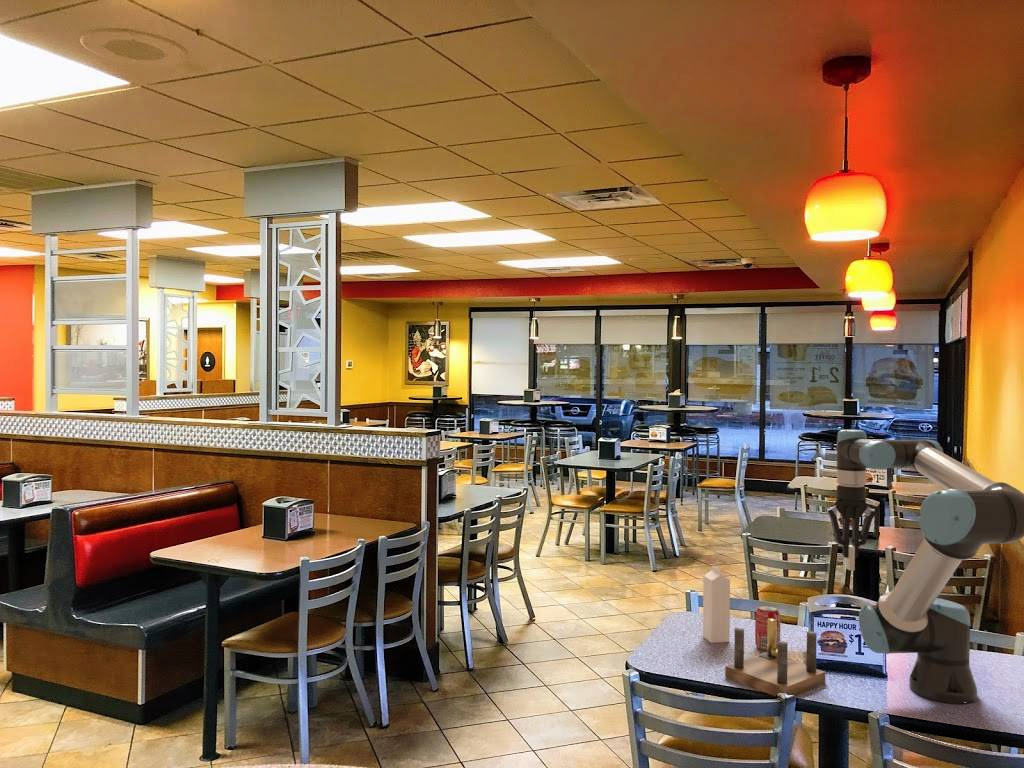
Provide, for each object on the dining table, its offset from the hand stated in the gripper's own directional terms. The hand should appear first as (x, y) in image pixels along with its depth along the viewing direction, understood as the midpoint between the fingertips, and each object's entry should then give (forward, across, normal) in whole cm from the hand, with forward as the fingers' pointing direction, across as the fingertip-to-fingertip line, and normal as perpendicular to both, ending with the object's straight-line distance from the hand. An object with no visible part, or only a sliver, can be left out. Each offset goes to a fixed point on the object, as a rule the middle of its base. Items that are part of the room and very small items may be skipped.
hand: (850, 569), depth 219 cm
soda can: (+27, +20, -9) cm, 35 cm away
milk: (+27, +35, -15) cm, 46 cm away
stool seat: (+26, +23, +16) cm, 39 cm away
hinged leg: (+23, +22, +7) cm, 32 cm away
